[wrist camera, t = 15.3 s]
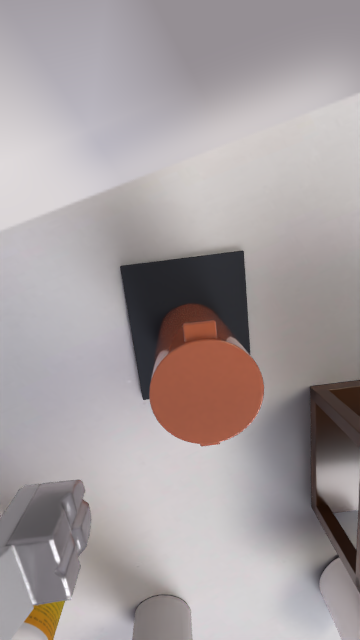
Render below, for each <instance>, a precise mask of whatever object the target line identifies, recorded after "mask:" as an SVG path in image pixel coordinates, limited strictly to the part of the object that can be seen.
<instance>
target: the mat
mask: <svg viewBox="0 0 360 640" xmlns="http://www.w3.org/2000/svg"><path fill="white" fill-rule="evenodd" d="M121 273H122V279H123V285H124V291H125V297H126V303H127V309H128V314H129V320H130V326H131V332H132V338H133V344H134V350H135V356H136V361H137V367H138V373H139V379H140V385H141V391H142V397H143V400H146V399H150V397H149V389H150V382H151V376H152V369H153V363H154V357H155V351H156V345H157V339H158V333H159V328H160V325H161V323H162V321H163V319H164V318H165V316H166V315H167V314H168V313H169V312H170V311H172V310H173V309H175V308H176V307H179V306H181V305H184V304H192V303H194V304H201V305H204V306H207V307H209V308H211V309H212V310H214V311H215V312H216V313H217V314H218V315H219V316H220V318H221V319H222V320H223V322H224V323H225V324H226V325H227V327H228V328H229V329H230V330H231V332H232V333H233V334H234V335H235V337H236V338H237V339H238V341H239V342H240V343H241V344H242V346H243V347H244V348H245V349H246V351H247V352H248V353H249V354H250V343H249V328H248V312H247V297H246V281H245V266H244V251H237V252H229V253H221V254H213V255H205V256H197V257H189V258H181V259H173V260H165V261H157V262H149V263H141V264H133V265H125V266H121Z"/></svg>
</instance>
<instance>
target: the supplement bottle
mask: <svg viewBox="0 0 360 640" xmlns="http://www.w3.org/2000/svg"><path fill="white" fill-rule="evenodd" d="M64 603H65V601H59V602H53V603H47V604H41V605H35V606H33V607H34V609H33V610H32V612H31V613H30V614H29V616H28V617H27V618H26V620H25V621H24V622H23V624H22V625H21V626H20V628H19V629H18V630H17V632H16V633H15V634H14V636H13V637H12V638H11V640H53V638H54V635H55V631H56V628H57V625H58V622H59V619H60V615H61V612H62V609H63V606H64Z"/></svg>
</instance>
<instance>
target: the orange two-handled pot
mask: <svg viewBox="0 0 360 640" xmlns="http://www.w3.org/2000/svg"><path fill="white" fill-rule="evenodd" d="M263 395H264V384H263V378H262V375H261V372H260V370H259V367H258V366H257V364H256V362H255V361H254V360H253V358H252V357H251V356H250V354H249V353H248V352H247V351H246V349H245V348H244V347H243V346H242V344H241V343H240V342H239V341H238V339H237V338H236V337H235V335H234V334H233V333H232V332H231V330H230V329H229V328H228V327H227V325H226V324H225V323H224V322H223V320H222V319H221V318H220V316H219V315H218V314H217V313H216V312H215V311H214V310H212V309H211V308H209V307H207V306H204V305H201V304H194V303H192V304H184V305H181V306H179V307H176V308H175V309H173V310H172V311H170V312H169V313H168V314H167V315H166V316H165V318H164V319H163V321H162V323H161V325H160V328H159V333H158V339H157V345H156V351H155V357H154V363H153V369H152V376H151V382H150V389H149V397H150V404H151V408H152V410H153V413H154V415H155V417H156V419H157V420H158V421H159V423H160V424H161V425H162V426H163V427H164V428H165V429H166V430H167V431H168V432H169V433H171V434H172V435H174V436H175V437H177V438H179V439H182V440H184V441H187V442H191V443H197V444H200V446H208V445H216V444H220V442H222V441H225V440H228V439H230V438H232V437H234V436H236V435H238V434H239V433H240V432H242V431H243V430H244V429H246V428H247V427H248V426H249V425H250V424H251V422H252V421H253V420H254V418H255V417H256V415H257V414H258V412H259V409H260V407H261V404H262V401H263Z"/></svg>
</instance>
